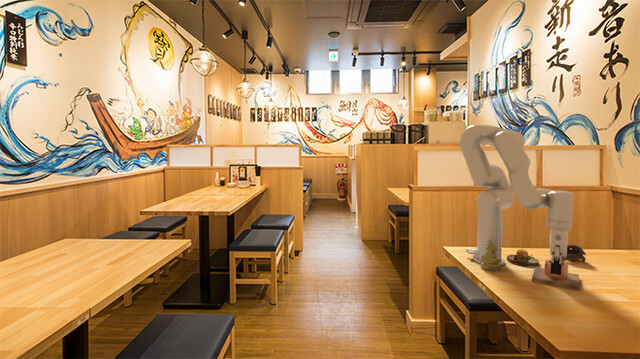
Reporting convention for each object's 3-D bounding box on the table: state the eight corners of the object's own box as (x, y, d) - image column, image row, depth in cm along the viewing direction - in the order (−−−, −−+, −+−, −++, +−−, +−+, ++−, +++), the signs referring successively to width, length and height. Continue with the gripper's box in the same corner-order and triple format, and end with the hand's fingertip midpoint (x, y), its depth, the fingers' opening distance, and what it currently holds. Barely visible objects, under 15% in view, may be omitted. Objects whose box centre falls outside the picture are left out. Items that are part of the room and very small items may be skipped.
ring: (543, 276, 124) (544, 263, 124) (544, 271, 130) (545, 258, 129) (567, 280, 120) (568, 267, 120) (567, 275, 126) (568, 262, 125)
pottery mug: (593, 265, 143) (591, 250, 140) (573, 274, 143) (570, 260, 140) (569, 250, 154) (567, 236, 151) (551, 258, 154) (548, 245, 151)
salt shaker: (503, 272, 132) (504, 248, 131) (482, 271, 134) (484, 247, 133) (497, 265, 140) (499, 242, 138) (478, 263, 141) (479, 241, 140)
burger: (544, 264, 142) (546, 247, 141) (527, 269, 137) (528, 251, 136) (517, 256, 153) (518, 240, 152) (500, 260, 148) (501, 243, 147)
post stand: (531, 281, 123) (532, 264, 123) (534, 270, 135) (535, 254, 134) (579, 290, 115) (581, 272, 115) (578, 278, 126) (579, 261, 126)
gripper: (572, 230, 114) (568, 280, 115) (571, 221, 128) (568, 266, 129) (545, 227, 118) (542, 275, 120) (547, 219, 132) (544, 262, 134)
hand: (555, 270), depth 125 cm, fingers open, 7 cm apart
